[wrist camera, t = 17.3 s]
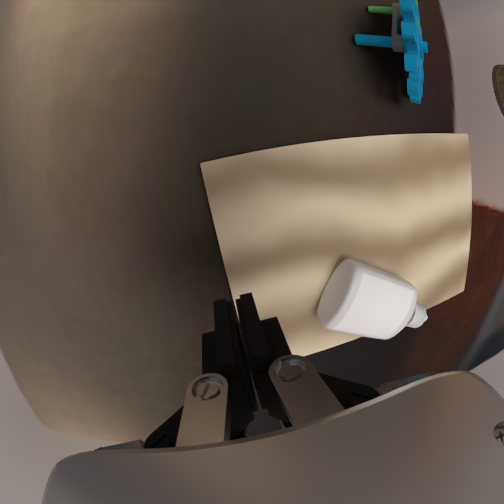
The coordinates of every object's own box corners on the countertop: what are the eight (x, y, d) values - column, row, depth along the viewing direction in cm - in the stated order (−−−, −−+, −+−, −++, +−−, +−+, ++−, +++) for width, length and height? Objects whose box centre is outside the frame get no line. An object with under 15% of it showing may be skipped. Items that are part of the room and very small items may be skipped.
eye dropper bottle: (342, 333, 18) (435, 347, 21) (358, 254, 19) (445, 289, 22) (311, 326, 22) (404, 342, 25) (326, 260, 23) (413, 290, 26)
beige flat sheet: (200, 163, 18) (199, 163, 18) (462, 133, 20) (467, 133, 20) (251, 364, 25) (252, 370, 24) (459, 287, 27) (463, 290, 26)
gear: (426, 126, 18) (423, 51, 10) (362, 113, 21) (326, 43, 13) (428, 38, 17) (415, -36, 8) (374, 32, 20) (344, -38, 11)
